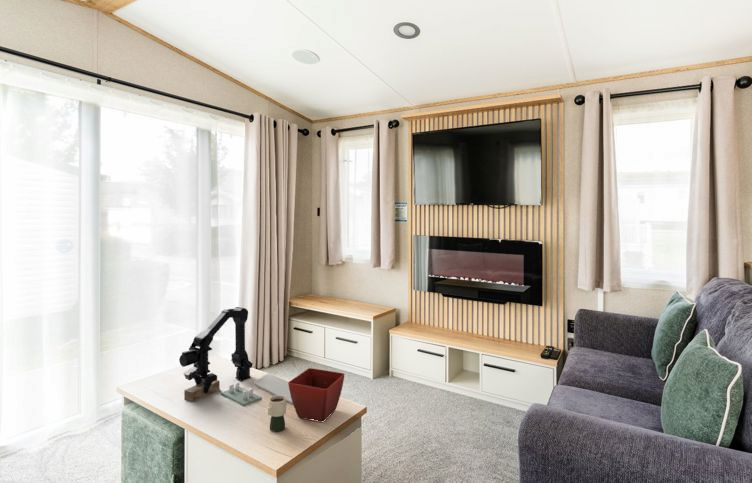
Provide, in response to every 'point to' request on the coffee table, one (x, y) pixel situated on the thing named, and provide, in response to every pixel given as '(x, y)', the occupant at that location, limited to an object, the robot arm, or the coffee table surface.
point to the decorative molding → (274, 386)
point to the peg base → (241, 395)
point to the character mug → (277, 412)
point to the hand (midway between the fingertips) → (202, 391)
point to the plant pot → (316, 393)
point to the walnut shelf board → (200, 391)
